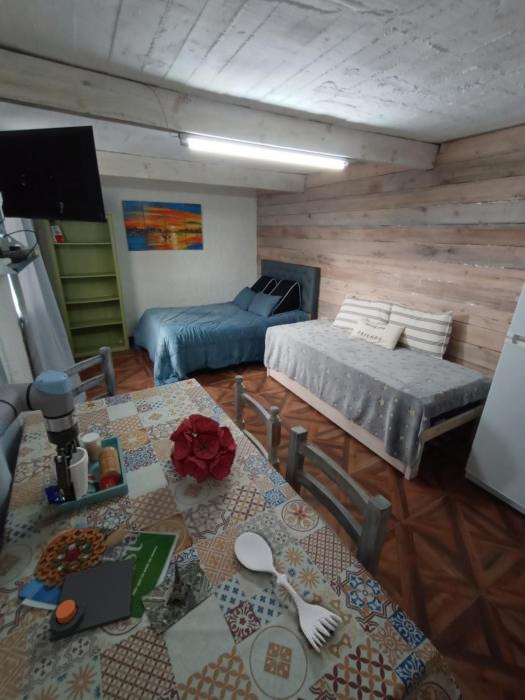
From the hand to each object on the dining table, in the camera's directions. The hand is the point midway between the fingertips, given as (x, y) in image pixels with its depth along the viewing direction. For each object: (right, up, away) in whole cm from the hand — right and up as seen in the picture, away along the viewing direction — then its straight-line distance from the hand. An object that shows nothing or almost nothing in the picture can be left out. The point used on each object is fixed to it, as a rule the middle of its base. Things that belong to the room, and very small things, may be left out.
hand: (75, 487), depth 96 cm
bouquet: (+34, -3, +20) cm, 40 cm away
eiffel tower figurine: (+37, -18, -19) cm, 45 cm away
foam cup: (0, -2, +1) cm, 2 cm away
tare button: (+14, -17, -26) cm, 34 cm away
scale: (+17, -18, -20) cm, 32 cm away
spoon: (+61, -18, -16) cm, 66 cm away
